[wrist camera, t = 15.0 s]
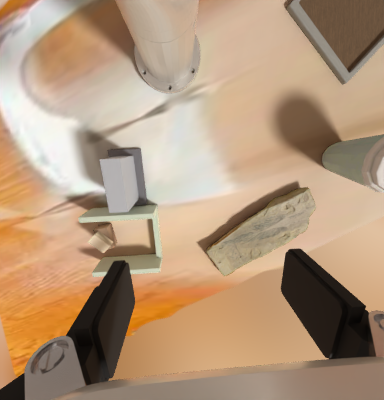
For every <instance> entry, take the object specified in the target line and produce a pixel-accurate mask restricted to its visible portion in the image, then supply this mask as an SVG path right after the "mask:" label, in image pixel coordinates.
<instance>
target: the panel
mask: <svg viewBox="0 0 384 400" xmlns="http://www.w3.org/2000/svg"><path fill="white" fill-rule="evenodd" d="M108 154H109V158H110V157H116V156H133V157H134V165H135V172H136V180H137V187H138V195H139V199H138V200H137V202H136V203H135V204H134V205H144V204H147V198H146V189H145V181H144V173H143V165H142V156H141V149H121V150H108Z"/></svg>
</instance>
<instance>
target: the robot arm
mask: <svg viewBox="0 0 384 400" xmlns="http://www.w3.org/2000/svg"><path fill="white" fill-rule="evenodd" d="M115 2H116V4H117V6H118V8H119V10H120V12H121V14H122V17H123V19H124V21H125V23H126V25H127V27H128V30H129V32H130V34H131V36H132V38H133V40H134V43H135V45H134V56H135V61H136V65H137V68H138V70H139V72H140V74H141V76H142V77H143V79H144V80H145V81H146V82H147V83H148V84H149V85H150V86H151V87H152V88H154V89H156V90H158V91H160V92H164V93H175V92H179V91H181V90H183V89H185V88H186V87H188V86H189V84H190V83H191V82H192V81H193V79H194V78H195V76H196V74H197V71H198V68H199V64H200V47H199V42H198V39H197V36H196V34H195V30H196V22H197V13H198V5H199V0H115ZM192 71H193V72H194V73H192ZM144 73H146V74H145V75H144ZM169 88H171V90H169ZM281 291H282V294H283V295H284V297H285V299H286V300H287V302H288V303H289V304H290V306H291V307H292V309H293V310H294V312H295V313H296V315H297V316H298V318H299V319H300V321H301V322H302V324H303V325H304V327H305V328H306V329H307V331H308V333H309V334H310V336H311V337H312V338H313V340H314V341H315V343H316V345H317V346H318V348H319V349H320V350H321V352H322V353H323V355H324V356H325V357H326V358H329V359H327V360H315V361H303V362H293V363H281V364H269V365H258V366H247V367H236V368H225V369H215V370H204V371H193V372H183V373H173V374H163V375H153V376H145V377H136V378H128V379H119V380H112V381H108V380H109V378H112V377H113V375H114V373H115V369H116V366H117V362H118V359H119V356H120V352H121V348H122V346H123V342H124V339H125V336H126V332H127V329H128V325H129V322H130V319H131V315H132V312H133V309H134V305H135V297H134V291H133V285H132V279H131V273H130V268H129V263H128V262H127V263H126V261H125V260H118V261H114V262H113V263H112V265H111V267H110V268H109V270H108V272H107V273H106V275H105V277H104V278H103V280H102V282H101V283H100V285H99V286H97V287H96V288H95V289H94V290H93V292H92V294H91V295H90V297H89V299H88V300H87V302H86V303H85V305H84V307H83V308H82V310H81V312H80V313H79V315H78V317H77V318H76V320H75V321H74V323H73V325H72V326H71V328H70V330H69V331H68V333H67V335H66V336H60V337H57V338H54V339H52V340H50V341H48V342H47V343H45V344H44V345H42V346H41V347H40V348H39V349H38V350H37V351H36V352H35V353H34V354H33V355H32V357H31V358H30V359H29V361H28V363H27V365H26V367H25V373H23V374H22V375H20V376H19V377H18V378H16V379H15V380H13V381H12V382H10V383H9V384H8V385H6V386H5V387H3V388H2V389H0V400H384V312H383V311H372V312H370V313H369V312H368V311H367V310H365V308H366V306H365V305H364V304H363V303H362V302H361V301H360V300H358V299H357V298H356V297H355V296H354V295H353V294H352V293H350V292H349V291H348V290H347V289H346V288H345V287H344V286H342V285H341V284H340V283H339V282H338V281H337V280H335V279H334V278H333V277H332V276H331V275H330V274H329V273H327V272H326V271H325V270H324V269H323V268H322V267H321V266H319V265H318V264H317V263H316V262H315V261H314V260H313V259H312V258H310V257H309V256H308V255H307V254H306V253H305V252H304V251H302V250H301V249H289V250H288V252H286V255H285V262H284V269H283V277H282V284H281Z"/></svg>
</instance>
